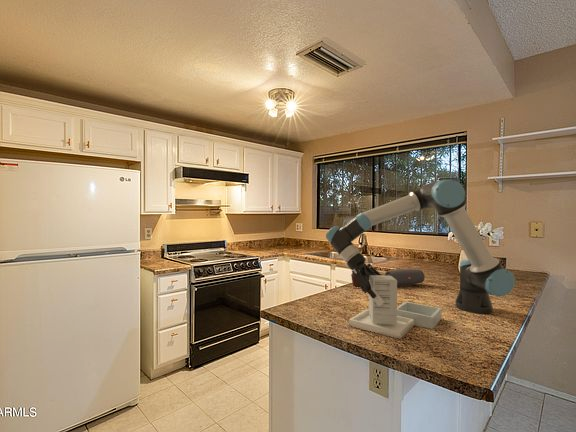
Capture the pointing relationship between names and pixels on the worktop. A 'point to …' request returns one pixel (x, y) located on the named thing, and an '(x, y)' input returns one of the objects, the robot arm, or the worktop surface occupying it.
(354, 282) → the muffin
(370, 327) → the tray
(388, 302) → the supplement box
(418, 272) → the bluetooth speaker
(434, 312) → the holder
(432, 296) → the worktop surface
